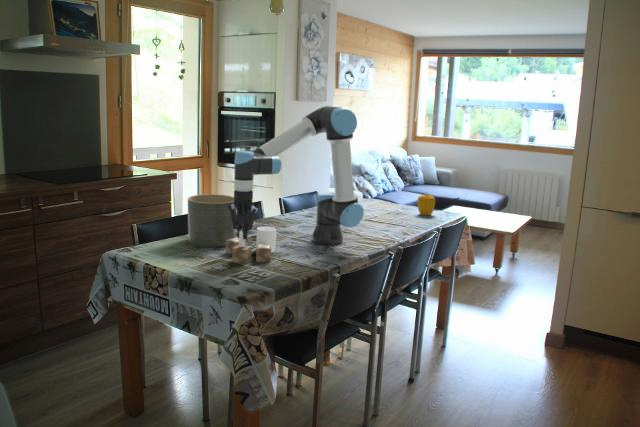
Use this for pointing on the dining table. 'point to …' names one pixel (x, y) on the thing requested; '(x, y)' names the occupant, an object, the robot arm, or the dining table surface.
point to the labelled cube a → (232, 245)
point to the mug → (266, 237)
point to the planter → (210, 220)
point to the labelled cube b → (263, 253)
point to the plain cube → (242, 254)
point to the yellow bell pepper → (426, 204)
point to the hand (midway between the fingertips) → (242, 246)
